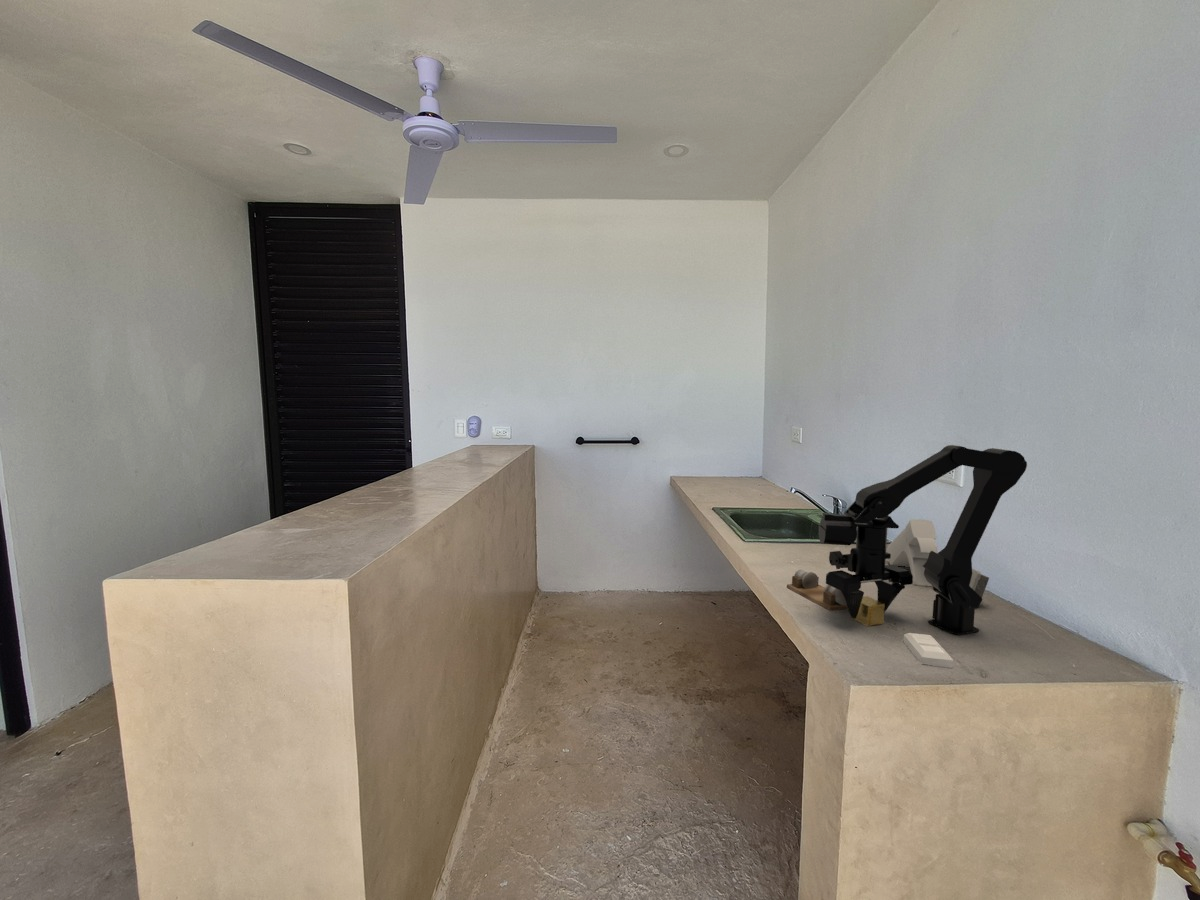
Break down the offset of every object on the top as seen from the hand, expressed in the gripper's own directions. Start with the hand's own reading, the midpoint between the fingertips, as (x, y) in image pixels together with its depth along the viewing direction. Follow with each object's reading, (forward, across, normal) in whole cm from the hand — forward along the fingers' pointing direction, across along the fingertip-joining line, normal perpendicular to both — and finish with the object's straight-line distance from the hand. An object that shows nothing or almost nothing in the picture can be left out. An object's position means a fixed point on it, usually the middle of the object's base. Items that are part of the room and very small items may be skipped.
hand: (867, 615), depth 106 cm
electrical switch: (+1, -31, -2) cm, 31 cm away
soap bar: (+2, +1, +15) cm, 15 cm away
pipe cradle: (+1, 0, -14) cm, 14 cm away
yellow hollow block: (+1, 0, 0) cm, 1 cm away
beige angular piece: (+1, -37, -20) cm, 42 cm away
